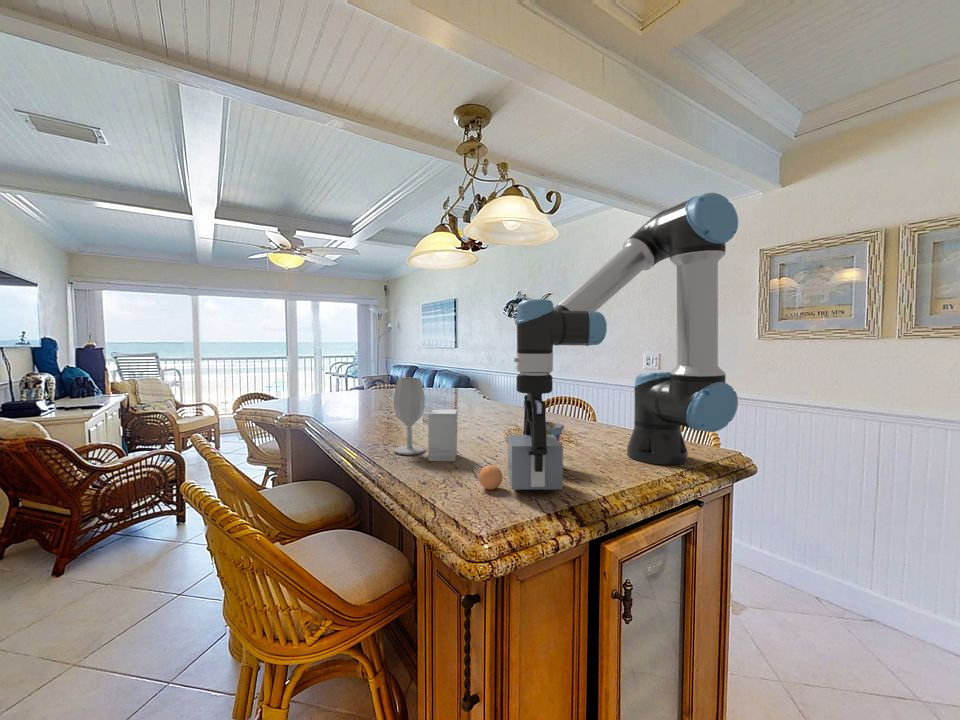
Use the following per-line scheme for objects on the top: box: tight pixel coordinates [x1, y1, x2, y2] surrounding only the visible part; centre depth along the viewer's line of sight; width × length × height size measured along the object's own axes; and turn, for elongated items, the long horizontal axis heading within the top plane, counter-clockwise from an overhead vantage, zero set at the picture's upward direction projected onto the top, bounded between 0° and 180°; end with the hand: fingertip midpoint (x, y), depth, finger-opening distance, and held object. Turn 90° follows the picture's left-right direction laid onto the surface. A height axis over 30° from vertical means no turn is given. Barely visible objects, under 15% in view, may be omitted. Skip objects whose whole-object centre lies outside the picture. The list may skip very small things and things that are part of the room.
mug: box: [546, 421, 565, 442], centre depth 106 cm, size 12×9×11 cm
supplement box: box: [427, 409, 458, 462], centre depth 112 cm, size 7×7×13 cm
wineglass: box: [392, 376, 427, 456], centre depth 118 cm, size 9×9×21 cm
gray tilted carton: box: [507, 434, 564, 490], centre depth 89 cm, size 10×10×9 cm
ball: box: [478, 464, 503, 491], centre depth 89 cm, size 5×5×5 cm
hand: (533, 477), depth 89 cm, fingers closed on gray tilted carton, 10 cm apart
